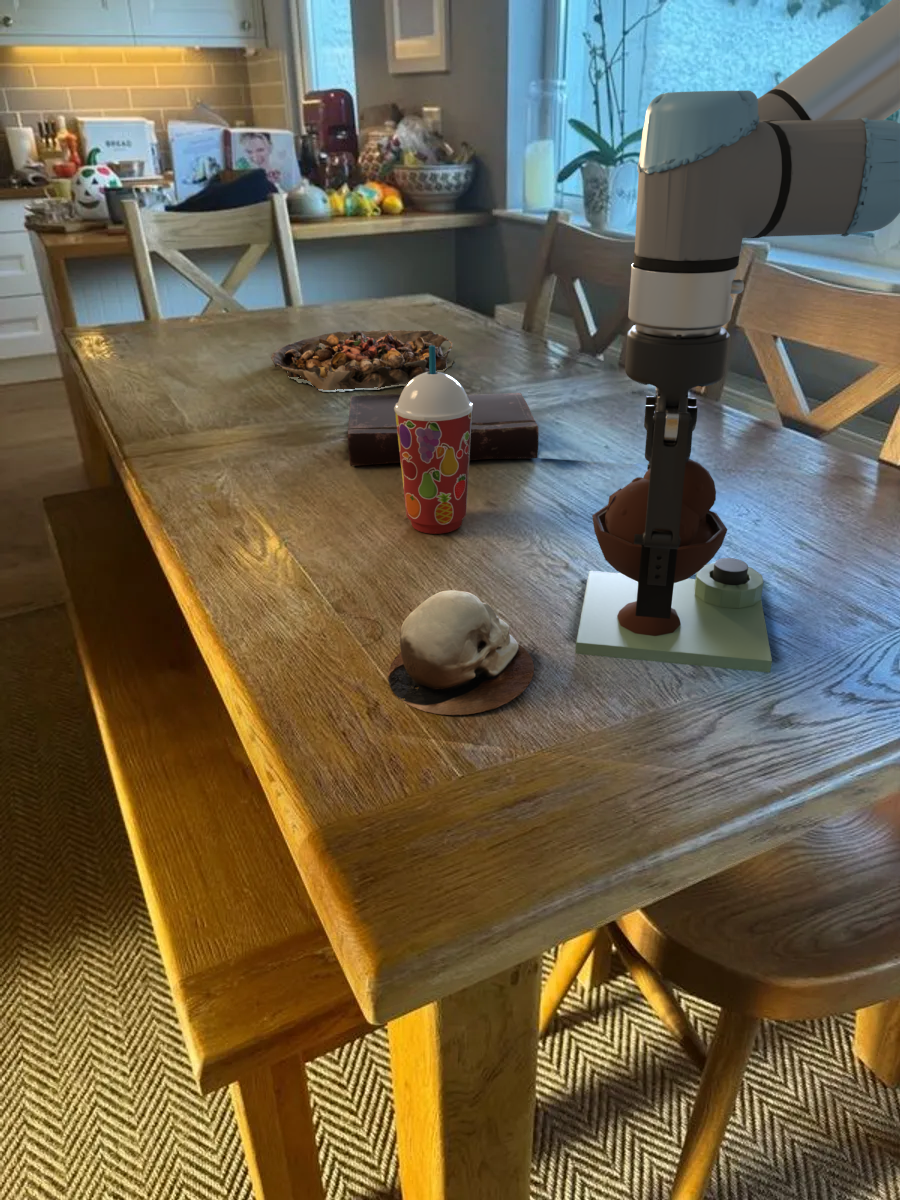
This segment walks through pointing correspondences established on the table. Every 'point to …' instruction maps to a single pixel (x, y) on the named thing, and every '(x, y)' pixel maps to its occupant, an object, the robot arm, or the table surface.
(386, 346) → the food dish
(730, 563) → the button
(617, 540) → the ice cream bowl
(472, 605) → the skull
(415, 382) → the smoothie
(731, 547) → the table surface
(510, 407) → the diary
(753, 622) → the scale
